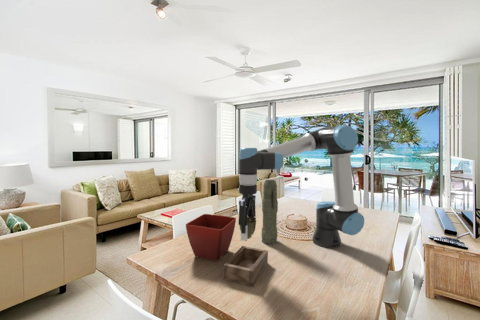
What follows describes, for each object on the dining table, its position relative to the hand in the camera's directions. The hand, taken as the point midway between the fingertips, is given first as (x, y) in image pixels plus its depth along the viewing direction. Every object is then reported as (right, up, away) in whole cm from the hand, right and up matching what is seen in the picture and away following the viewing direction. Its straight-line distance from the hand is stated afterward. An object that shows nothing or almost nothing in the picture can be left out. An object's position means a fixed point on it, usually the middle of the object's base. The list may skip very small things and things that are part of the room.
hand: (247, 237), depth 101 cm
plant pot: (-17, -14, +17) cm, 28 cm away
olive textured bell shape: (0, 0, 0) cm, 0 cm away
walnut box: (0, -15, +1) cm, 15 cm away
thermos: (+14, -13, +33) cm, 38 cm away
